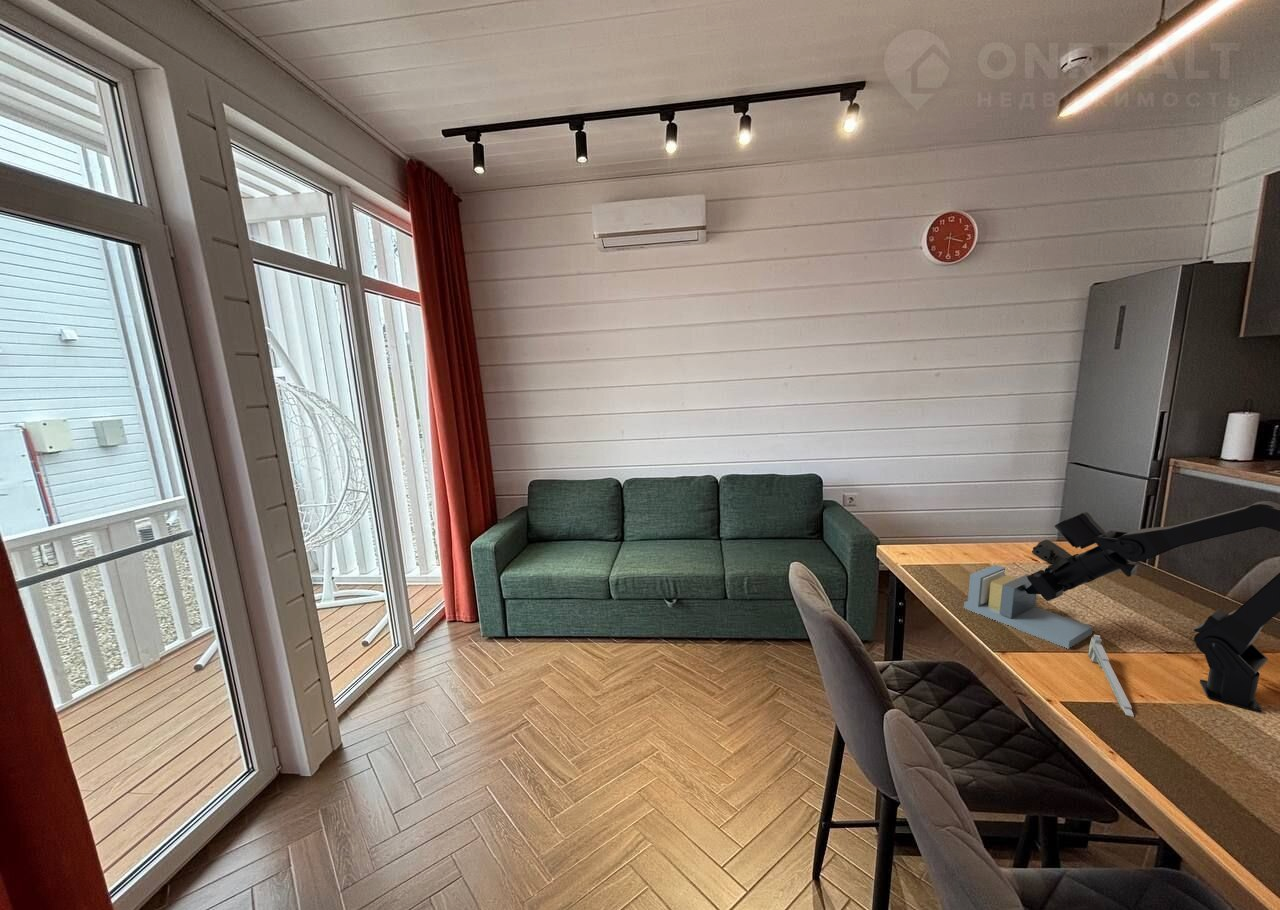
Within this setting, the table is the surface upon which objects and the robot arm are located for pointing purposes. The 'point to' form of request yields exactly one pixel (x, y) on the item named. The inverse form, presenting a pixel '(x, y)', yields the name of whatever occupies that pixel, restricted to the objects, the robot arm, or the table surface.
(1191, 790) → the table surface
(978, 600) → the vise
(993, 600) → the pale yellow wooden block
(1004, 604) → the sliding jaw
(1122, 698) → the caliper
